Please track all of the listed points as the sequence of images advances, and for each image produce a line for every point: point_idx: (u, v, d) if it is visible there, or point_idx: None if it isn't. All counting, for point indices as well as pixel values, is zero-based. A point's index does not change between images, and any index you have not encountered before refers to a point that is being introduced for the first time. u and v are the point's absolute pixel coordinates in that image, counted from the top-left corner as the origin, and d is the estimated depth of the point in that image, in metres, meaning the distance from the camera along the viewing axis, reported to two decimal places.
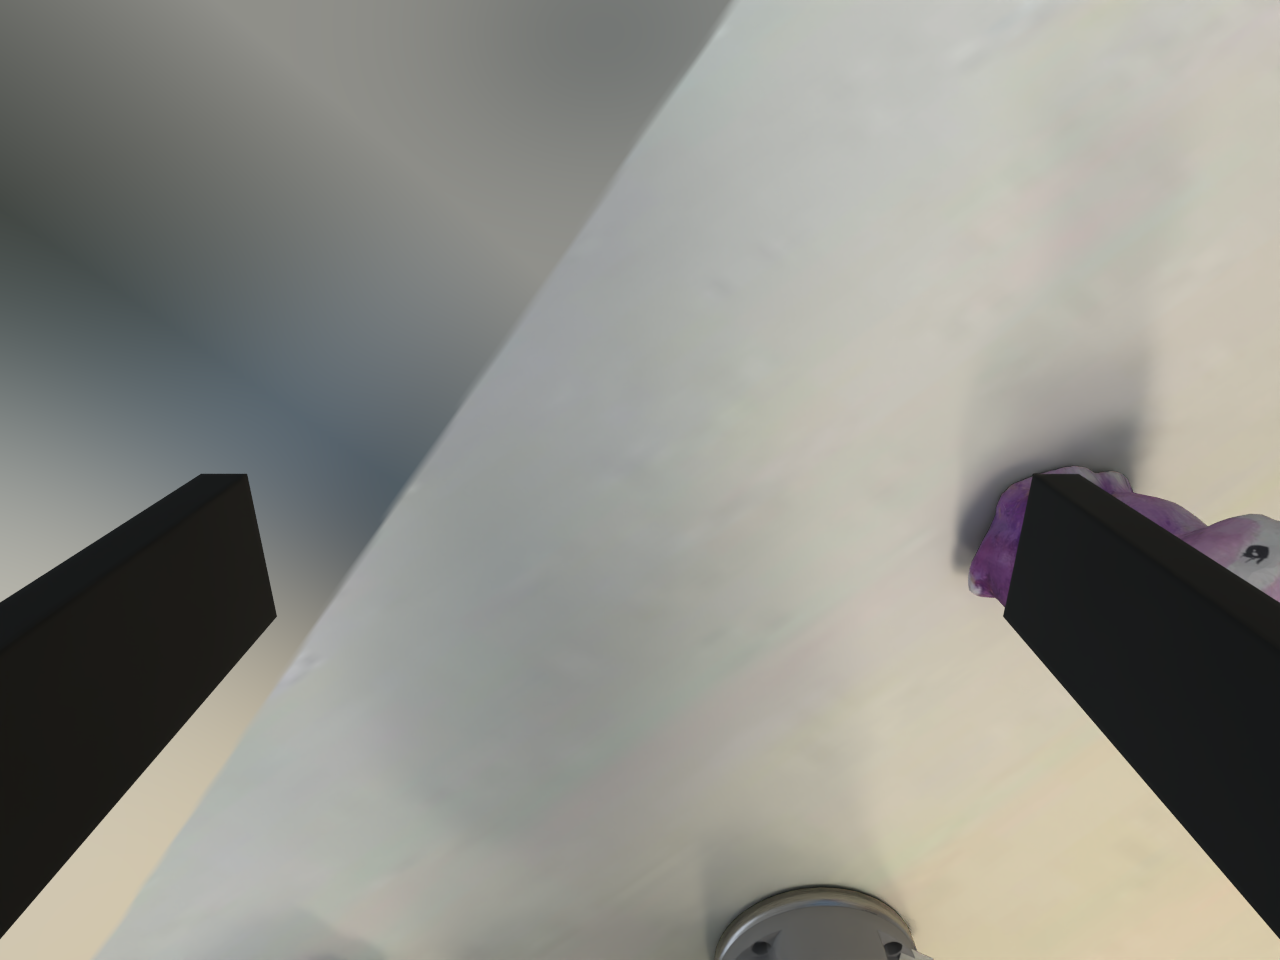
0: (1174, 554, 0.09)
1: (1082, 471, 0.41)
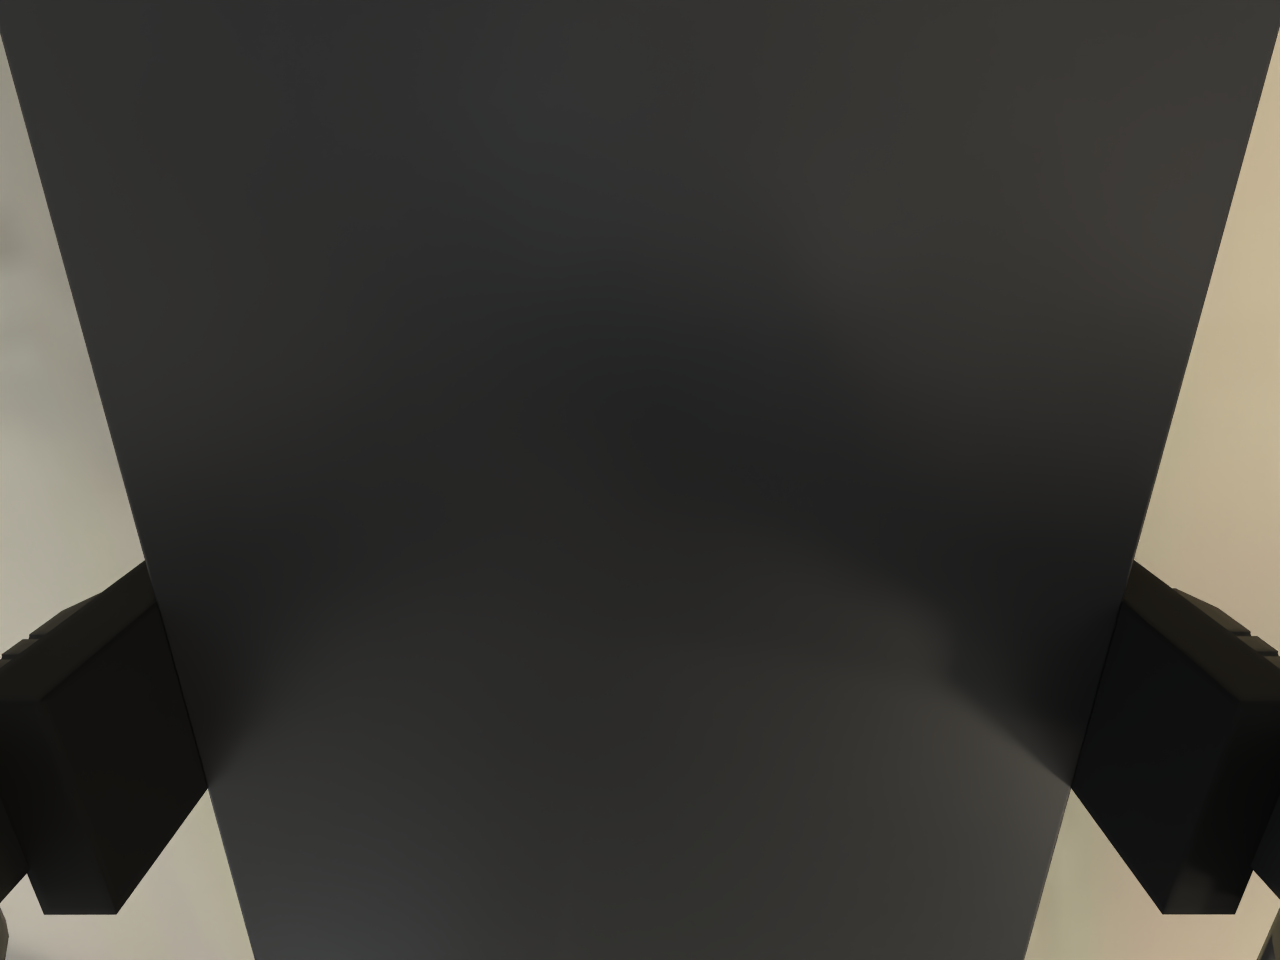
0: None
1: None
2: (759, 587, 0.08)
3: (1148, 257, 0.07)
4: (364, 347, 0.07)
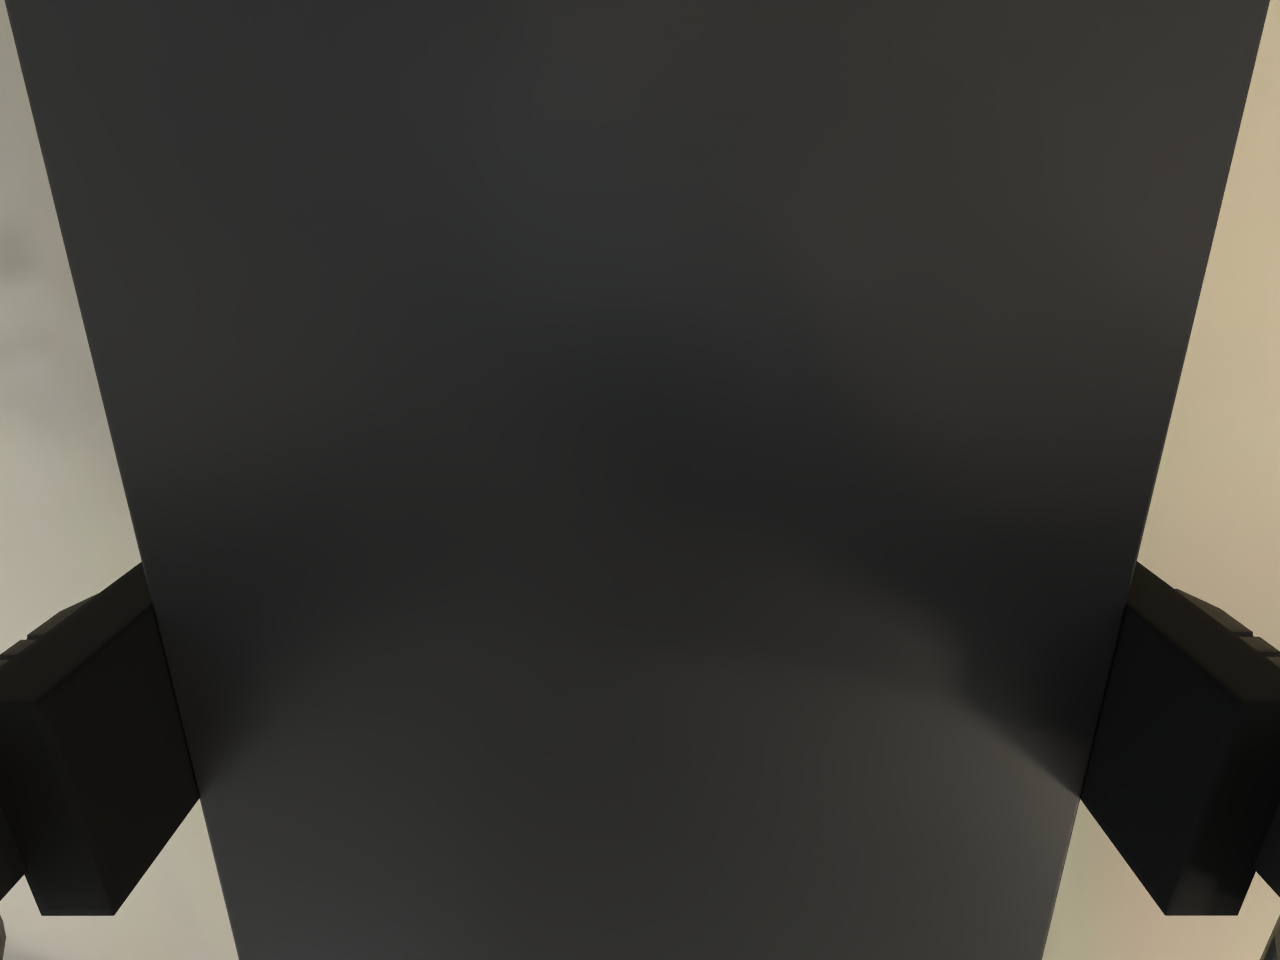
0: None
1: None
2: (760, 583, 0.08)
3: (1143, 246, 0.07)
4: (364, 339, 0.07)
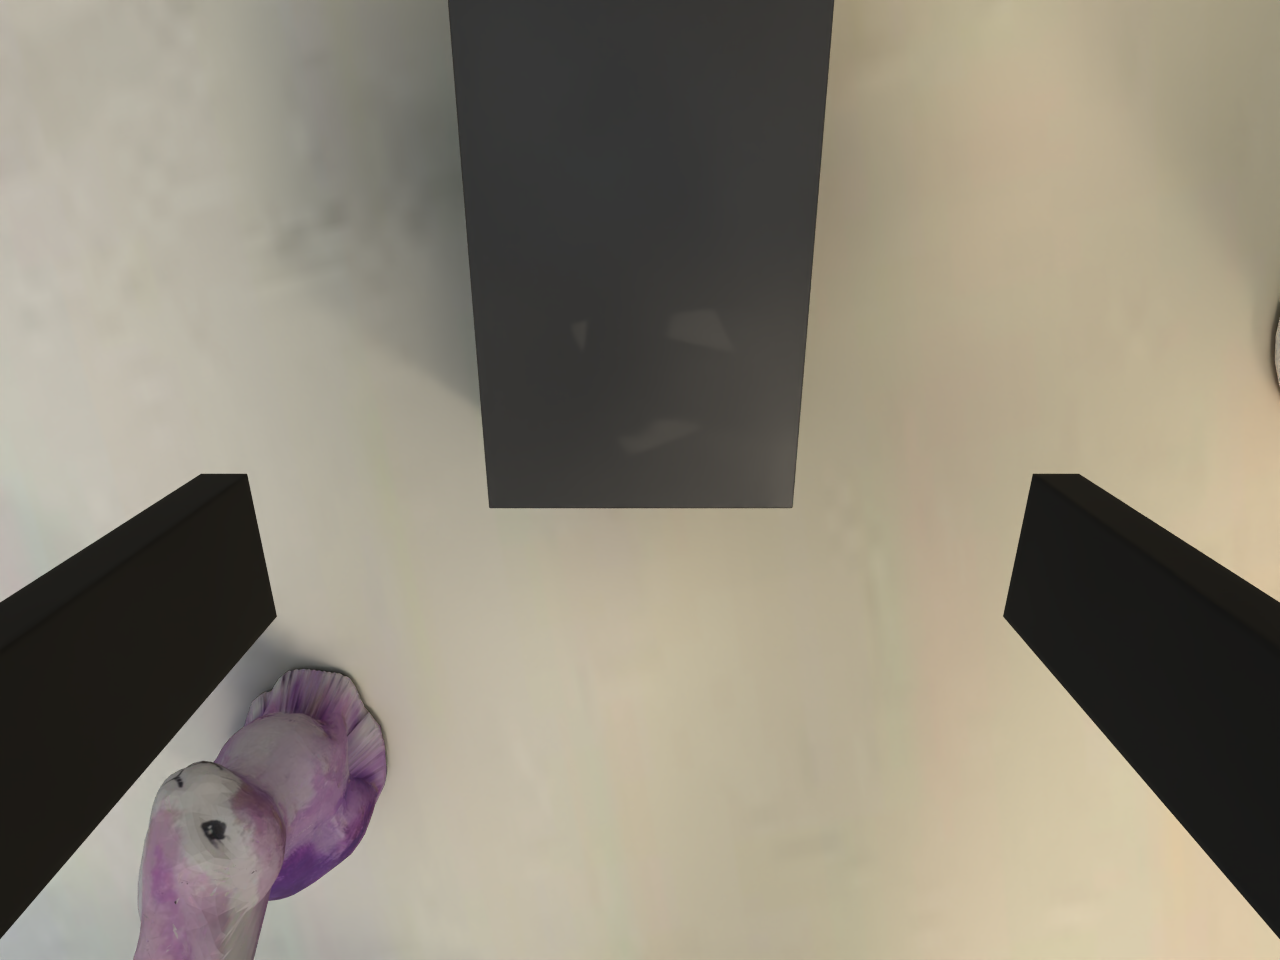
0: (1173, 554, 0.09)
1: (253, 706, 0.38)
2: (681, 328, 0.24)
3: (795, 213, 0.23)
4: (555, 242, 0.23)
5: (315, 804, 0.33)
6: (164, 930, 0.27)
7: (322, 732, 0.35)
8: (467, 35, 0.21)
